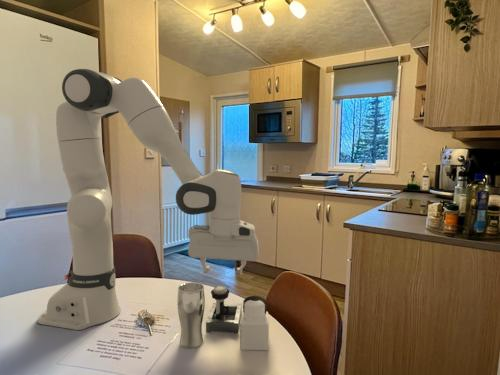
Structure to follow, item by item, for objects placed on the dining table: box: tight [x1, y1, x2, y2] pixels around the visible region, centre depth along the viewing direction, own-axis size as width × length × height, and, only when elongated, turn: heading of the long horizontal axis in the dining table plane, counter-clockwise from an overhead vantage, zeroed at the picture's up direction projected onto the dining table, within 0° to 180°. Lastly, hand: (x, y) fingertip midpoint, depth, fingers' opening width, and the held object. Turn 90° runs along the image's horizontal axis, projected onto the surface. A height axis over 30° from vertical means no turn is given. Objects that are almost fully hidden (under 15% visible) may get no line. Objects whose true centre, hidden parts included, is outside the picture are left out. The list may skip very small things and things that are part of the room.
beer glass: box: [176, 282, 206, 350], centre depth 88 cm, size 7×7×15 cm
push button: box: [210, 285, 230, 320], centre depth 99 cm, size 7×5×10 cm
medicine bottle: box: [239, 295, 270, 352], centre depth 88 cm, size 7×7×12 cm
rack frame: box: [205, 302, 243, 335], centre depth 99 cm, size 9×12×3 cm
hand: (222, 273), depth 98 cm, fingers open, 8 cm apart
